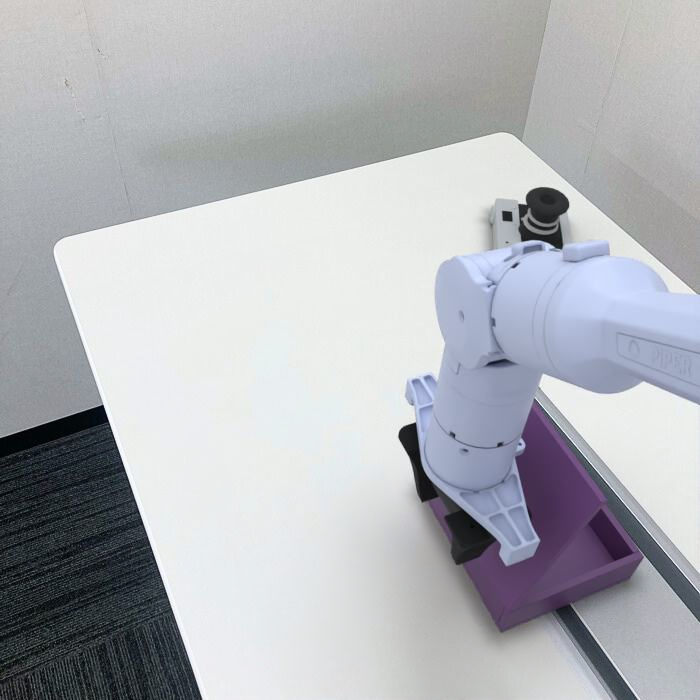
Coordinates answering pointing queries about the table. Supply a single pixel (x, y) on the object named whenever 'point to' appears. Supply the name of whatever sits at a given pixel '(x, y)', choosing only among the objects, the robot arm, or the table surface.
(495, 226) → the camera
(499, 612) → the purple box
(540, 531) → the box cover
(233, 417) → the table surface
